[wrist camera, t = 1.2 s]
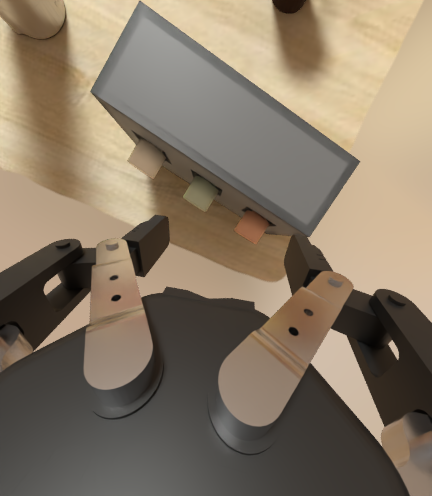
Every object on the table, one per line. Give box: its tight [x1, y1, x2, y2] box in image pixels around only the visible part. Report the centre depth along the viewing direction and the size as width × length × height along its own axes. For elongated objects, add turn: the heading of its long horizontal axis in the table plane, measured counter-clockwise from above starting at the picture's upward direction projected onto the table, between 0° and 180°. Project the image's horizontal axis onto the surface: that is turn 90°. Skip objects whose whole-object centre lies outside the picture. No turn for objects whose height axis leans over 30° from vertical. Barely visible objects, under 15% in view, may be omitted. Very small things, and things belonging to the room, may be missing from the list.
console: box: [90, 1, 360, 237], centre depth 28 cm, size 10×28×16 cm, turn 58°
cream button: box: [127, 138, 166, 179], centre depth 26 cm, size 7×4×4 cm, turn 148°
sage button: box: [183, 176, 219, 212], centre depth 27 cm, size 7×4×4 cm, turn 148°
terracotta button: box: [234, 210, 269, 244], centre depth 28 cm, size 7×4×4 cm, turn 148°
